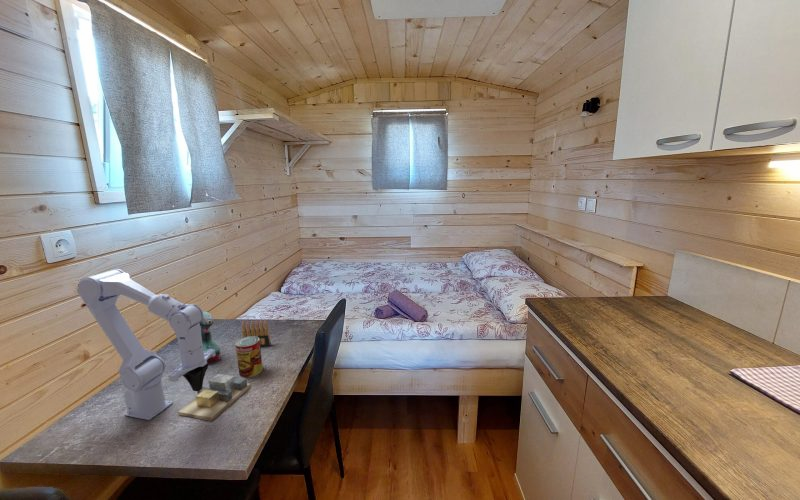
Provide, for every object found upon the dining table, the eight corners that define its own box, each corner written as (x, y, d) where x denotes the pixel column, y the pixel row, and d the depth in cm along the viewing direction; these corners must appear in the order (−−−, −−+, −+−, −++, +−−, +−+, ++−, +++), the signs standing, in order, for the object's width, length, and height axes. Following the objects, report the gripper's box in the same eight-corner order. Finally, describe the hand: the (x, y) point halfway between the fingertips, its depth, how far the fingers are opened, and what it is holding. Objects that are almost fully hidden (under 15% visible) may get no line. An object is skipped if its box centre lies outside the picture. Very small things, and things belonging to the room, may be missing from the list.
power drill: (205, 373, 121) (198, 321, 117) (196, 356, 133) (189, 309, 129) (227, 365, 126) (220, 316, 122) (216, 350, 138) (210, 304, 134)
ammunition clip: (270, 344, 142) (268, 318, 140) (269, 346, 141) (267, 319, 138) (244, 346, 141) (241, 319, 138) (243, 348, 139) (239, 321, 137)
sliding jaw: (188, 404, 103) (187, 394, 102) (203, 393, 108) (201, 384, 107) (219, 409, 100) (217, 399, 100) (232, 397, 105) (231, 388, 105)
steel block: (226, 397, 106) (224, 383, 105) (210, 394, 107) (208, 380, 106) (235, 389, 110) (233, 376, 109) (220, 387, 111) (218, 373, 110)
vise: (178, 414, 100) (176, 404, 99) (220, 381, 116) (219, 372, 115) (212, 420, 97) (210, 410, 96) (250, 386, 113) (249, 377, 112)
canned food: (234, 375, 120) (230, 344, 117) (250, 364, 127) (247, 334, 125) (251, 379, 117) (247, 347, 115) (267, 367, 124) (264, 337, 122)
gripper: (181, 362, 89) (188, 407, 91) (221, 337, 102) (226, 377, 105) (159, 359, 90) (167, 403, 93) (202, 335, 104) (207, 374, 107)
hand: (197, 389), depth 99 cm, fingers closed
